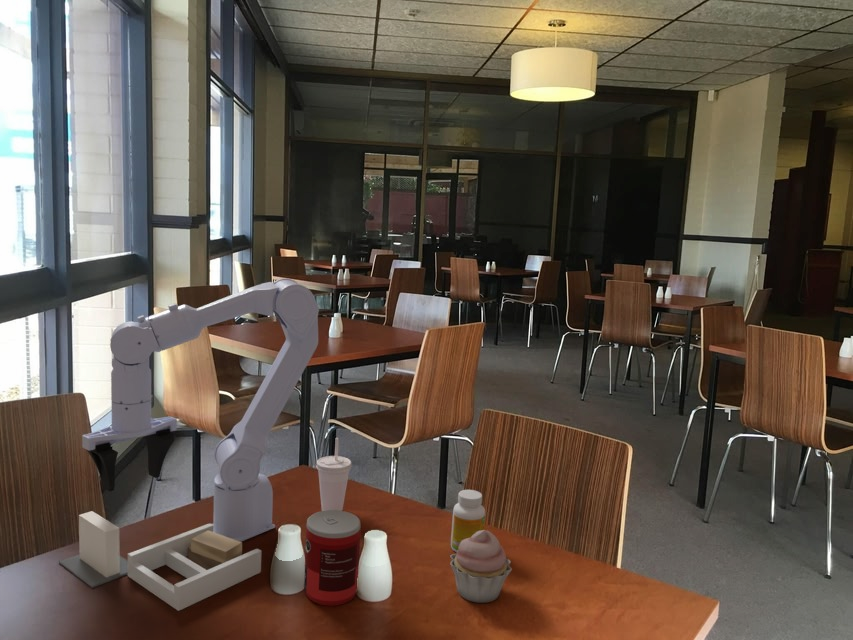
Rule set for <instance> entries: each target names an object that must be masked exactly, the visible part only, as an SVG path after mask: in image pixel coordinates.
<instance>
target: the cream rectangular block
mask: <svg viewBox="0 0 853 640" xmlns="http://www.w3.org/2000/svg"><path fill="white" fill-rule="evenodd" d="M78 538H79V540H78V543H79V544H78V545H79V552H78V553H79V554H80V559H81V560H83V561H84V562H85V563H87V564H88V565H90V566H91V567H92V568H94V569H95V570H96V571H98V572H99V573H101V574H102V575H103V576H105V577H106V578H107V577H109V576H112V575H114V574H117V573H120V556H121V555H120V553H121V552H120V527H118V526H117V525H116V524H114V523H112V522H110V521H109V520H108V519H105V518H104V517H102V516H101V515H99V514H98V513H96V512H94V511H93V510H91V511H88V512H84V513H81V514H79V515H78Z"/></svg>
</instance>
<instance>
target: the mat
mask: <svg viewBox="0 0 853 640" xmlns="http://www.w3.org/2000/svg"><path fill="white" fill-rule="evenodd" d="M58 563H59V564H60V566H62V567H64V568H65V569H66V570H68V571H69V572H70V573H72V574H73V575H74V576H75V577H77V578H78V579H80V580H81V581H82V582H83V583H85V584H86V585H87V586H89V587H90V588H91V589H93V588H96V587H98V586H102V585H104V584H106V583H108V582H112V581H115V580H116V579H118V578H121V577H124V576H126V575H127V576H128V559H126V558H125V557H124V556H122V555H120V573H117V574H114V575H112V576H109V577H107V578H106V577H105V576H103V575H102V574H101V573H99V572H98V571H96V570H95V569H94V568H92V567H91V566H90V565H88V564H87V563H85V562H84V561H83V560H81V559H80V553H79V554H75V555H73V556H70V557H68V558H65V559H61V560H59V561H58Z"/></svg>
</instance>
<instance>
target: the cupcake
mask: <svg viewBox="0 0 853 640" xmlns="http://www.w3.org/2000/svg"><path fill="white" fill-rule="evenodd" d="M449 557H450V560H451V561H450V563H449V565H450V566H451V570H452V571H453V573H454V578H455V585H456V589H457V592H458V594H459V596H461V598H463V599H465V600H466V601H469V602H473V603H479V604H483V603H484V604H485V603H486V604H487V603H491V602H493V601H495V600H497V598H498V597H499V595H500V593H501V590H502V587H503V585H504V583H505V580H506V578H507V577H508V575H510V573H511V572H512V571H513V568H512V567H511V566H510V564H511V560H510V559H507V555H506V552H505V550H504V548H503V547H502V545H501V544H500V541H499V540H498V538H497V537H496V536H495V535H494V534H493V533H492V532H491V531H488V530H485V529H484V530H482V531H478V532H476V533H475V534H474V535H472V536H471V538H466V539H464V540H462V541H461V543H460V545H459V550H458V551H457V553H453V554H450V555H449Z"/></svg>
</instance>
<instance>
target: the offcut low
mask: <svg viewBox="0 0 853 640" xmlns="http://www.w3.org/2000/svg"><path fill="white" fill-rule="evenodd" d="M187 559H189V560H191V561H192V562H194V563H196V564H197V565H199V566H201V567H202V568H204V569H206V570H209V569H211V568H213V567H216V566H218V565H220V564H222V563H221V562H218V561H215V560H213V559H210V558H207V557H205V556H202V555H200V554H197V553H194V552H192V551H191V547H188V556H187Z"/></svg>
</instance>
